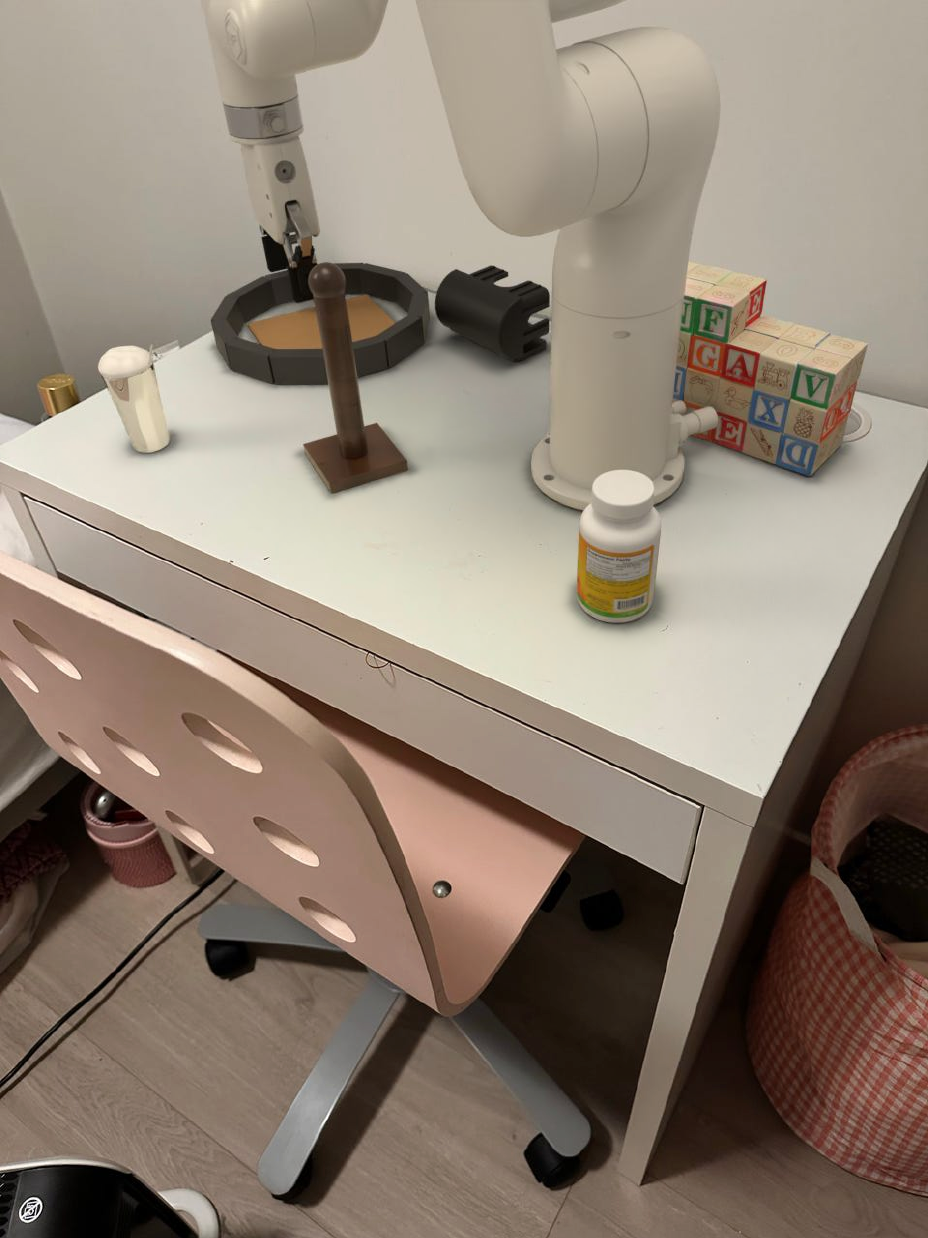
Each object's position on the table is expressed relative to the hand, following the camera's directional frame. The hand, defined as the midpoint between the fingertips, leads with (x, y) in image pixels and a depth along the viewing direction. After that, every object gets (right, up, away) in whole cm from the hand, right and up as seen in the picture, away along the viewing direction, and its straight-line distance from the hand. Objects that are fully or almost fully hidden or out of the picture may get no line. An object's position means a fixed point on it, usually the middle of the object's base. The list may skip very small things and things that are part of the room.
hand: (294, 283), depth 105 cm
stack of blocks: (+41, -21, -23) cm, 51 cm away
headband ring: (+4, -7, -6) cm, 10 cm away
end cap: (+22, -10, -10) cm, 26 cm away
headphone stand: (+10, -24, -24) cm, 36 cm away
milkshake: (-9, -22, -20) cm, 31 cm away
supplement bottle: (+30, -37, -39) cm, 61 cm away
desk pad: (+5, -7, -6) cm, 10 cm away
